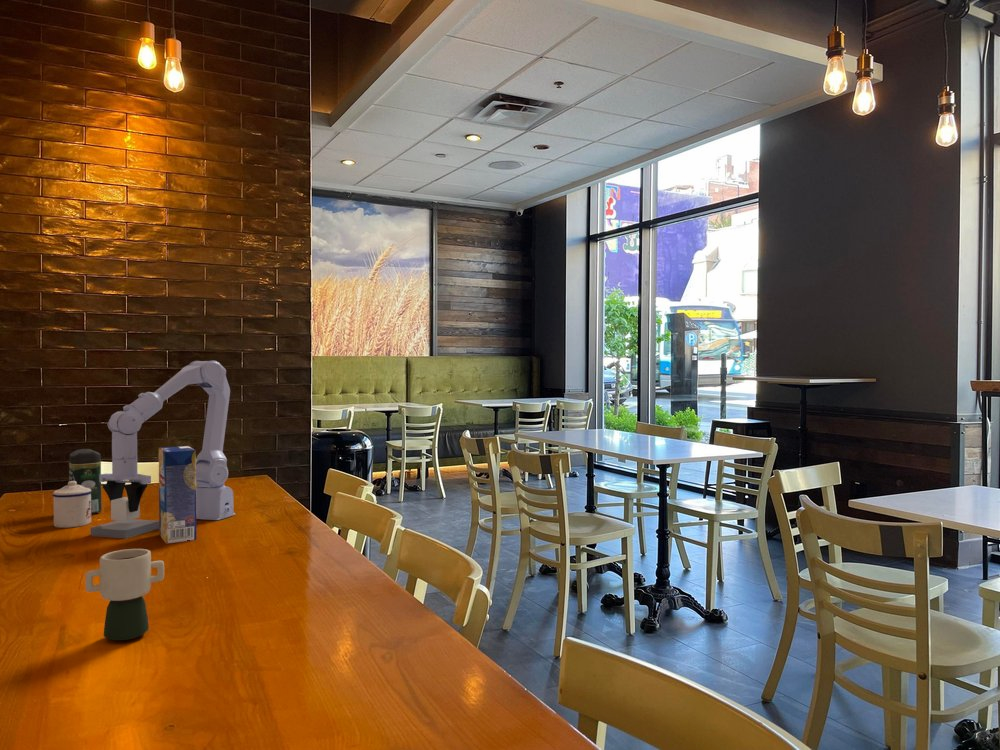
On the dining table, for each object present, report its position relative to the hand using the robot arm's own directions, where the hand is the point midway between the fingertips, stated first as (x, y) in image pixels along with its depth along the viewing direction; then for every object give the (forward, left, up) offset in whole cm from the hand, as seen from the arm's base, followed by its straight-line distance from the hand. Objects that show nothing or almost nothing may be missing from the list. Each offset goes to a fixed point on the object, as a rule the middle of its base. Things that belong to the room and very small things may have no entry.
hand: (125, 510), depth 180 cm
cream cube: (0, 0, -2) cm, 2 cm away
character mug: (-56, +57, -6) cm, 80 cm away
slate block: (0, 0, -6) cm, 6 cm away
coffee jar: (+30, -16, -6) cm, 34 cm away
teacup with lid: (+22, -4, -6) cm, 23 cm away
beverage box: (-17, +1, -6) cm, 18 cm away
